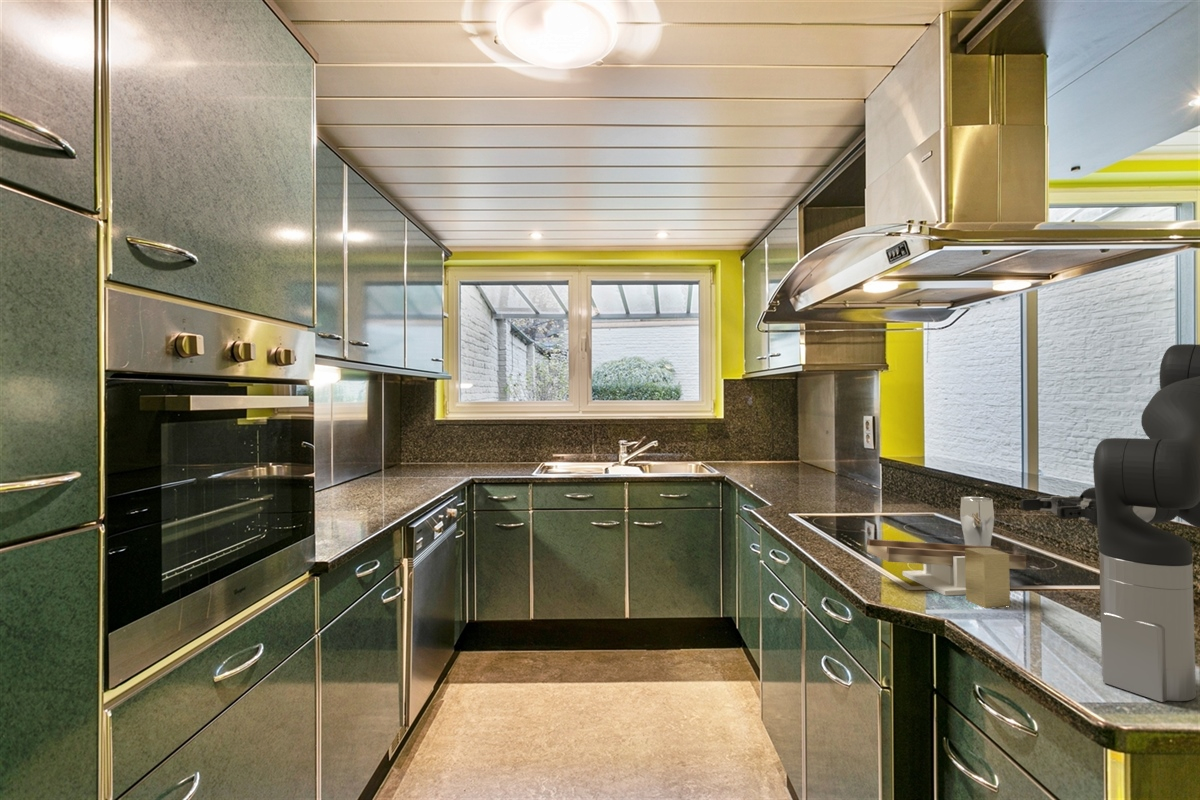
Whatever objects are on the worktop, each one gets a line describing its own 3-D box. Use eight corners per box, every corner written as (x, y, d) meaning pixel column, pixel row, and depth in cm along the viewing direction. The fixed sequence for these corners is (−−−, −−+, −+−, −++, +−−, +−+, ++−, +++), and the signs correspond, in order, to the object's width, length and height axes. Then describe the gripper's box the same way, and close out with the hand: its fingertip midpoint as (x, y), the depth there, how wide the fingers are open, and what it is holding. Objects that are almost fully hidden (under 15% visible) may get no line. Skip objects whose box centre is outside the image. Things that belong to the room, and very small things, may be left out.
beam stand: (944, 573, 130) (944, 542, 130) (992, 593, 116) (991, 558, 116) (902, 575, 129) (902, 544, 129) (945, 595, 115) (944, 560, 115)
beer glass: (956, 555, 146) (954, 496, 146) (986, 556, 145) (985, 496, 145) (969, 563, 139) (967, 500, 139) (1000, 563, 138) (999, 500, 138)
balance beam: (996, 559, 128) (997, 546, 128) (1025, 569, 120) (1026, 556, 120) (866, 552, 126) (867, 539, 126) (888, 561, 118) (889, 547, 118)
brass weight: (989, 598, 114) (988, 547, 114) (1010, 607, 109) (1009, 553, 109) (965, 599, 113) (964, 548, 113) (985, 608, 108) (984, 554, 108)
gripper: (1082, 482, 121) (1009, 484, 119) (1153, 492, 106) (1072, 495, 105) (1083, 518, 120) (1010, 521, 119) (1154, 533, 106) (1073, 536, 105)
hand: (1039, 508), depth 112 cm, fingers open, 8 cm apart
